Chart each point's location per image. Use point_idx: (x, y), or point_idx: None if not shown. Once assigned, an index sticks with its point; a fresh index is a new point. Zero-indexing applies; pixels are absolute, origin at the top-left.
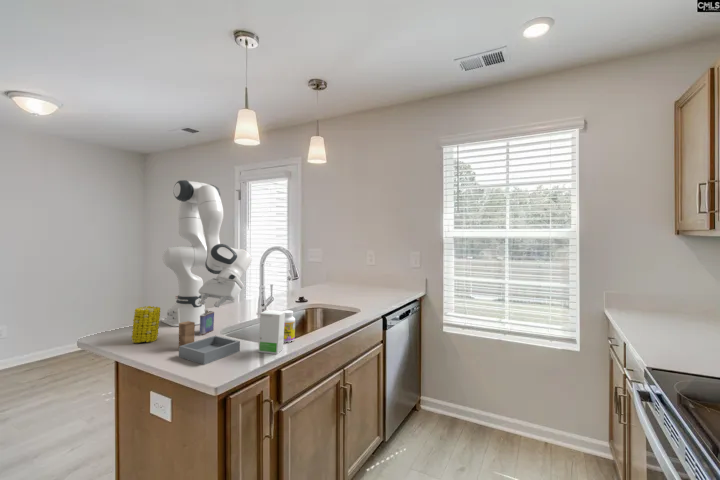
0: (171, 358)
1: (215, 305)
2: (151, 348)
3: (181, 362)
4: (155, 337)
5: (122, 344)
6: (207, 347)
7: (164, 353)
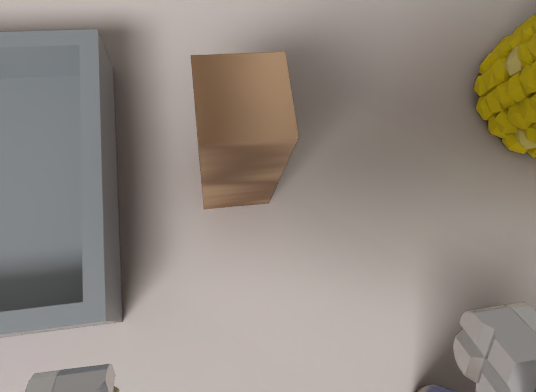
0: (128, 39)
1: (65, 370)
2: (367, 62)
3: None
4: (495, 121)
5: None
6: (72, 224)
7: None
